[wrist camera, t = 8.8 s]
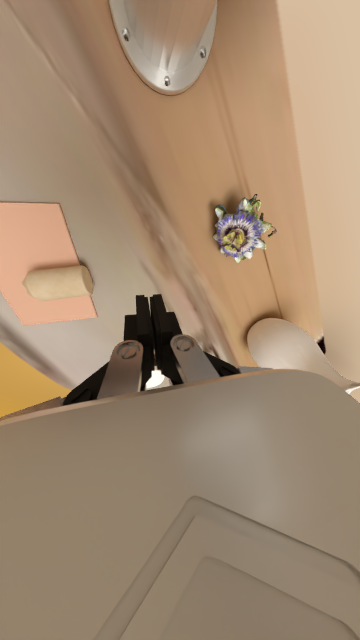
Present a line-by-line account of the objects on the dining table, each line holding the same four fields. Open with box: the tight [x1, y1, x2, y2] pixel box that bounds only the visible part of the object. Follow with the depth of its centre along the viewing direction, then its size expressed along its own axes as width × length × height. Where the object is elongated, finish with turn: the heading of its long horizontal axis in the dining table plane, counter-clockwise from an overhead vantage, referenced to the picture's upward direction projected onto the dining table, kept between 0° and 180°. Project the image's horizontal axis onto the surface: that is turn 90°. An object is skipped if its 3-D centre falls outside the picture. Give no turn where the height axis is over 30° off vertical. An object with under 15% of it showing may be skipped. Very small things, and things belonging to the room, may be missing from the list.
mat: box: [0, 202, 97, 325], centre depth 31 cm, size 22×15×1 cm
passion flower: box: [213, 194, 277, 263], centre depth 32 cm, size 11×11×12 cm
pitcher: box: [247, 318, 360, 394], centre depth 48 cm, size 24×17×28 cm
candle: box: [22, 266, 93, 301], centre depth 30 cm, size 6×6×10 cm
